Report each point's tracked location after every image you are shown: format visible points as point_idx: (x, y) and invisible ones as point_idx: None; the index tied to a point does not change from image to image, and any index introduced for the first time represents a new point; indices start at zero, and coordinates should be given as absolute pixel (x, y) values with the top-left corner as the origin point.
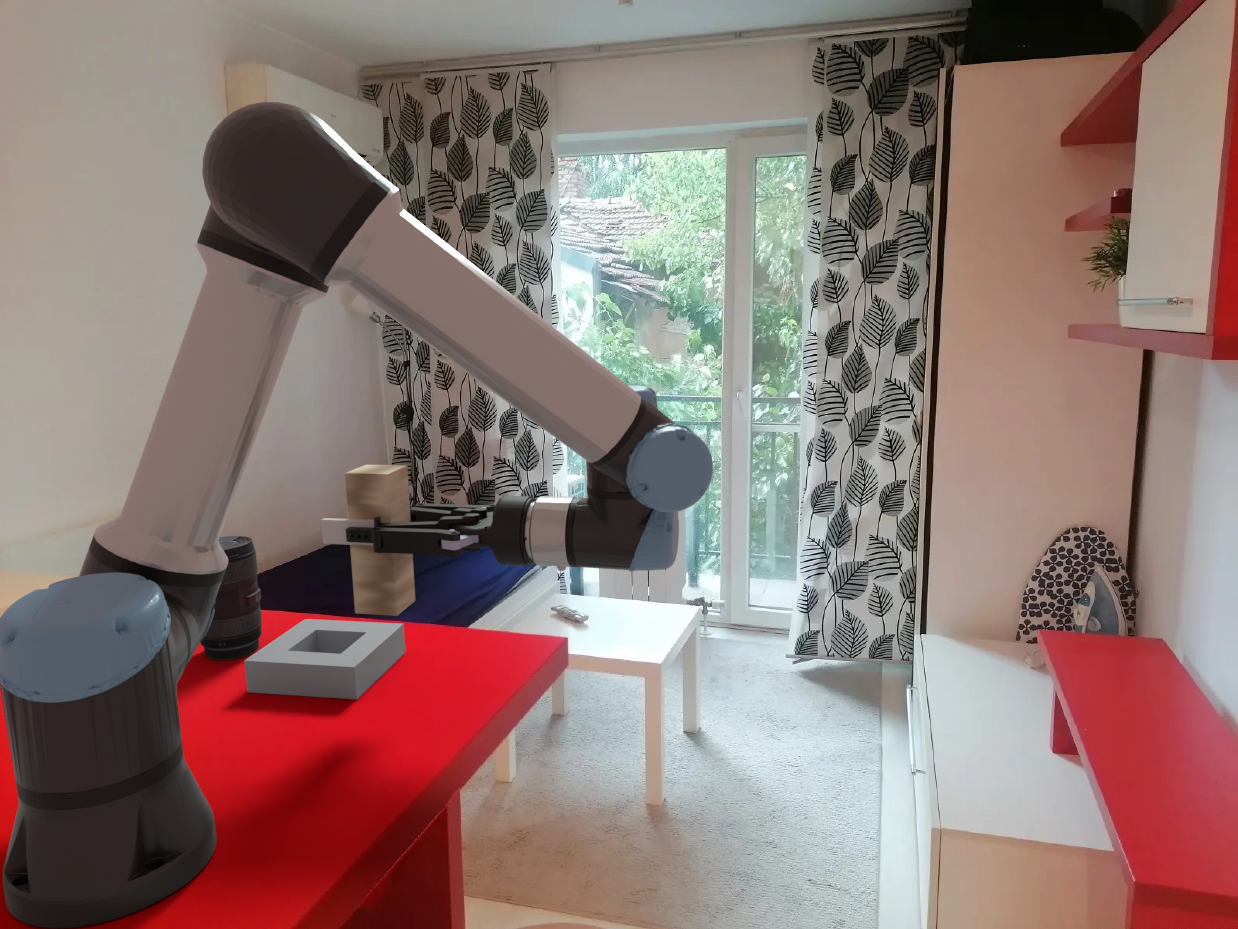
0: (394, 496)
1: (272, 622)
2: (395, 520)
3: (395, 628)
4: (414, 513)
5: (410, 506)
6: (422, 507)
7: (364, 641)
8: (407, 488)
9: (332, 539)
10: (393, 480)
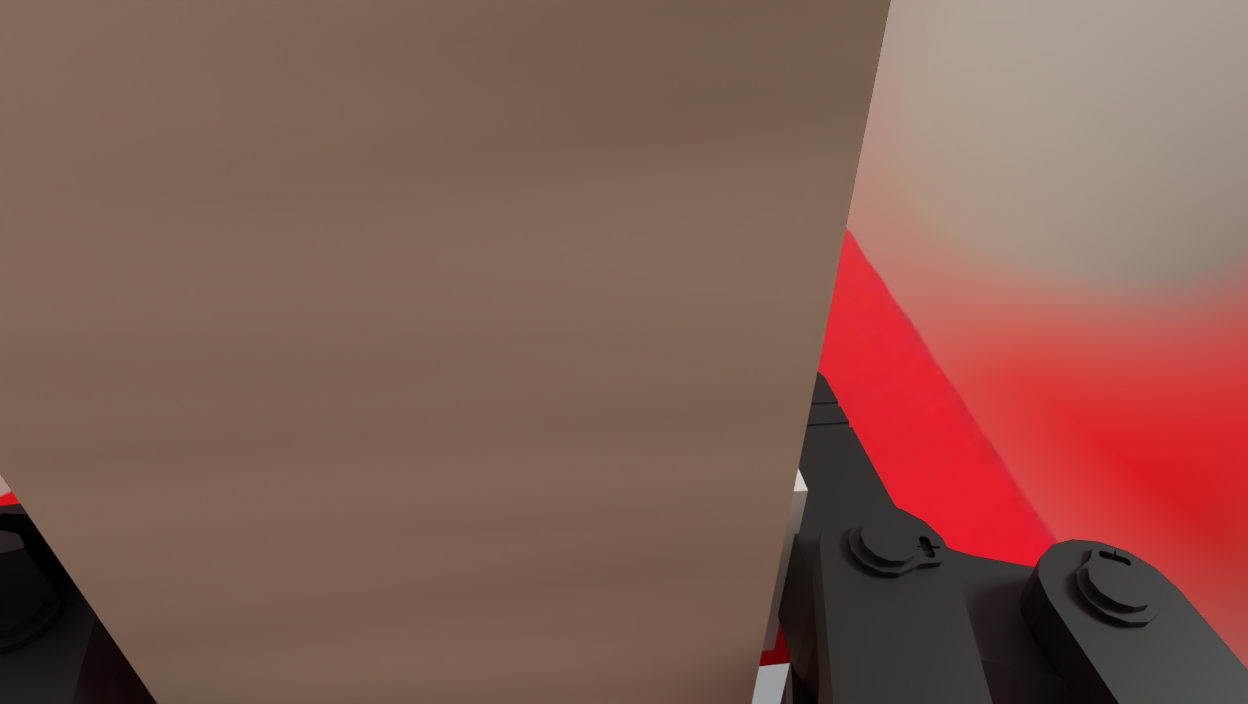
0: (198, 422)
1: (887, 381)
2: (297, 675)
3: None
4: (820, 685)
5: (911, 545)
6: (1068, 661)
7: (764, 696)
8: (769, 369)
9: None
10: (72, 119)
